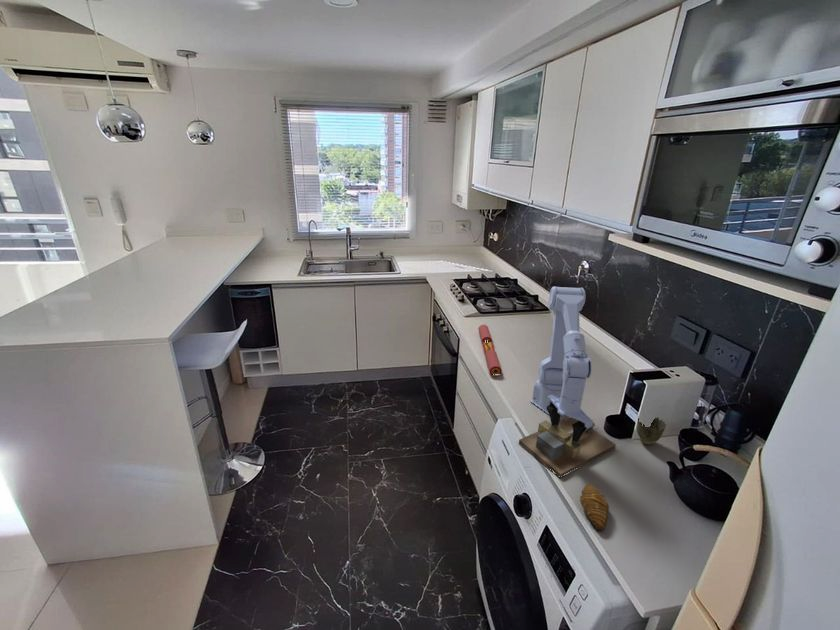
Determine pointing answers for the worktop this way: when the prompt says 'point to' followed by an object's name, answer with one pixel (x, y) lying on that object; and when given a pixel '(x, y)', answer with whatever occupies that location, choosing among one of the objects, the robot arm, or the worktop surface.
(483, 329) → the pink labeled cylinder
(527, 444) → the rod base
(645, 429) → the olive green lumpy piece
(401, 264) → the worktop surface
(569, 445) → the tan wooden bar
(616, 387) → the worktop surface
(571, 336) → the robot arm
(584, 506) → the croissant
